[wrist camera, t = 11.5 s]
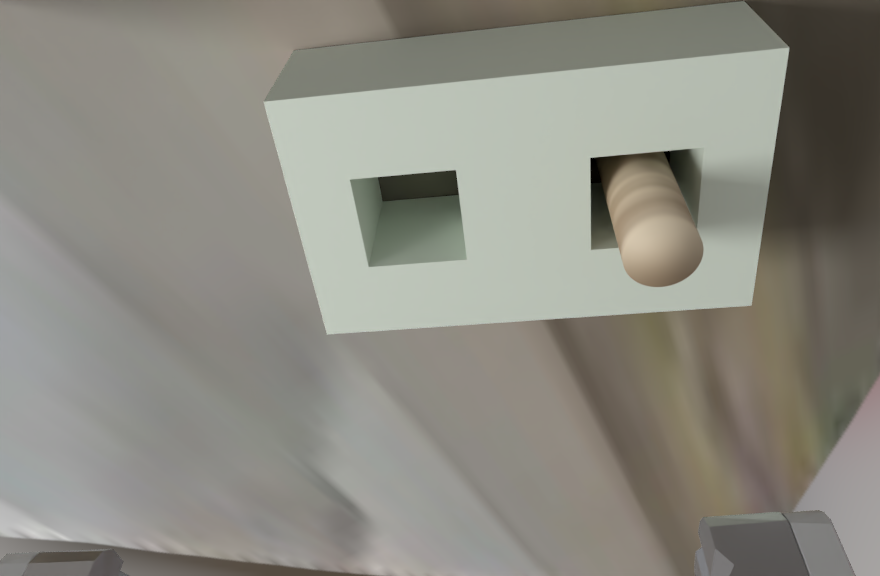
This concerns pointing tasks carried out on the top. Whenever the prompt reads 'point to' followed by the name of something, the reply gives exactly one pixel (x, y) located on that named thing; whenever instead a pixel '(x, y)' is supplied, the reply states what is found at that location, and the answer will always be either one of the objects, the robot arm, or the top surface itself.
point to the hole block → (526, 164)
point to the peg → (650, 218)
